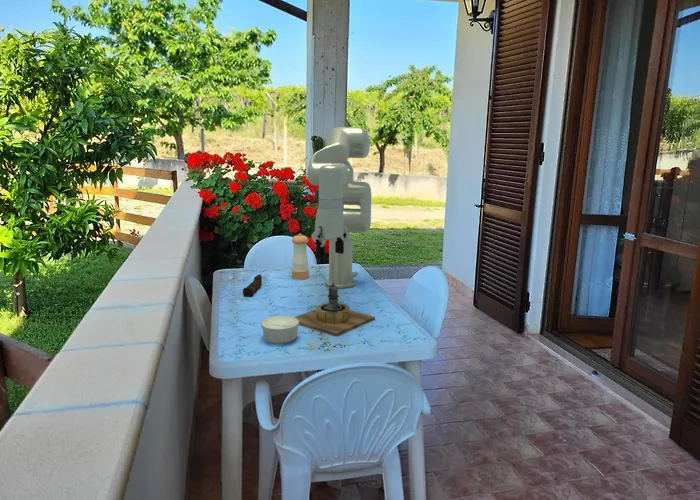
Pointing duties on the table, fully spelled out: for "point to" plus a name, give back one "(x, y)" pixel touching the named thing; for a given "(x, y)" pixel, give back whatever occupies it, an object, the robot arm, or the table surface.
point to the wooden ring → (332, 314)
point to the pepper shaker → (300, 258)
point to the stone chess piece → (333, 299)
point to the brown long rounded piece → (253, 286)
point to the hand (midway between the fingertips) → (330, 255)
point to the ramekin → (280, 329)
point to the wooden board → (334, 329)
